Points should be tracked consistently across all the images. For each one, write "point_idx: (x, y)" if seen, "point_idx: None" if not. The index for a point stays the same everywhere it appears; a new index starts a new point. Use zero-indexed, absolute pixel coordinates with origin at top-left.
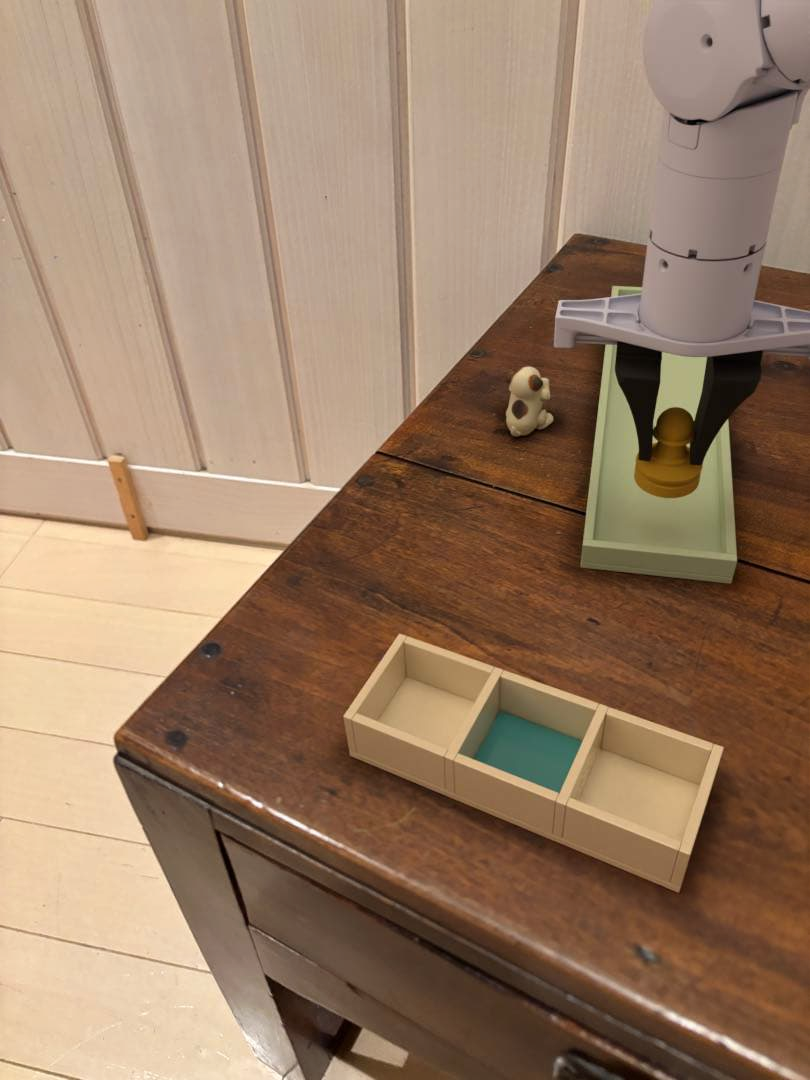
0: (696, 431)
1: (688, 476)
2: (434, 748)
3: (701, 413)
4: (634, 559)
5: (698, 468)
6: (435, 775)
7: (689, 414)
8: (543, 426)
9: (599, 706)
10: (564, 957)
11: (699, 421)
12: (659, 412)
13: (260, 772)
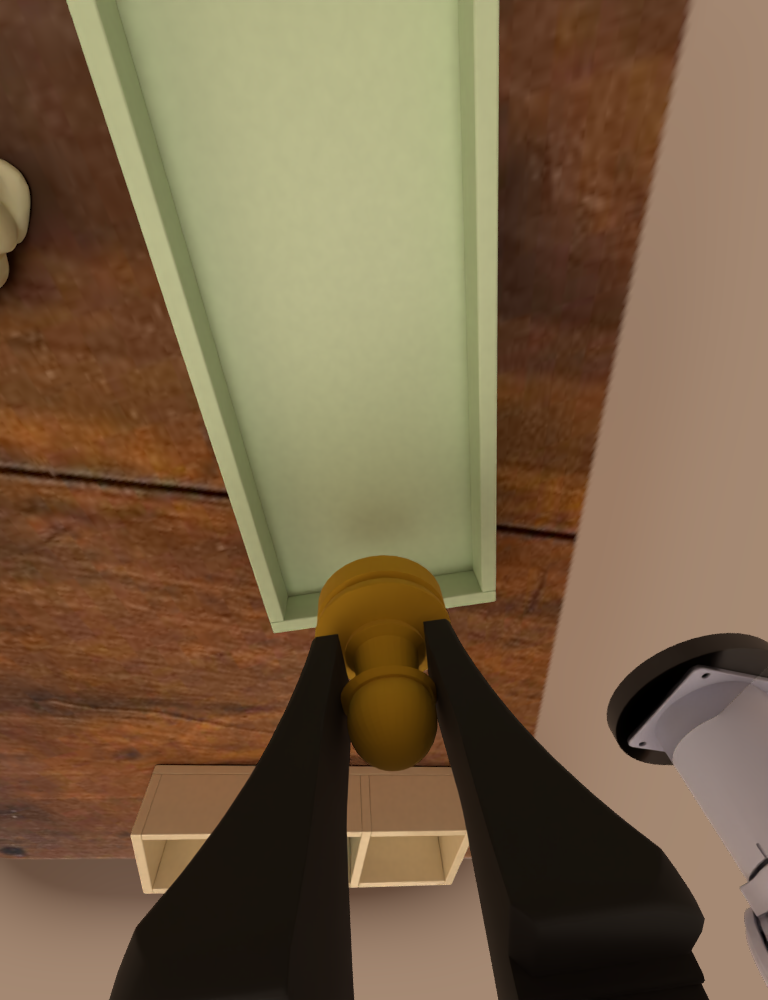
0: (443, 722)
1: (426, 667)
2: None
3: (457, 765)
4: None
5: None
6: None
7: (426, 745)
8: (21, 233)
9: (363, 834)
10: None
11: (451, 750)
12: (298, 70)
13: (105, 848)
